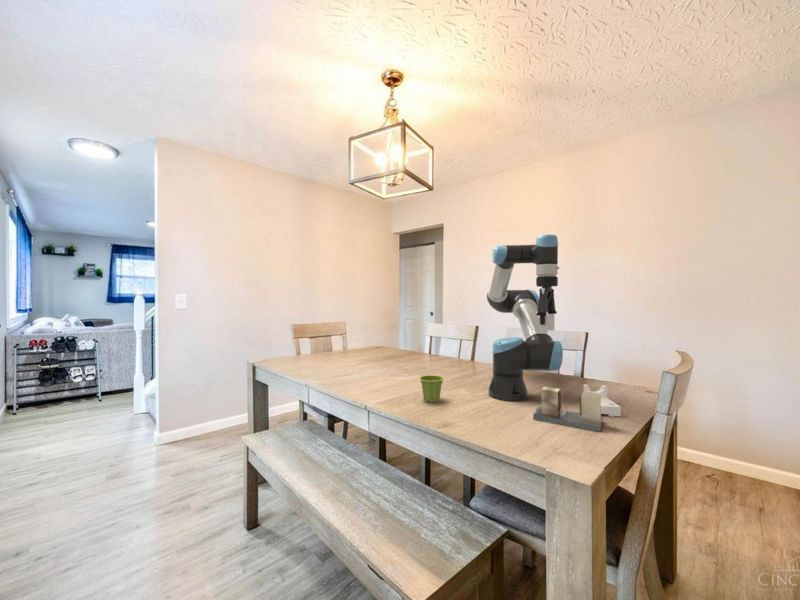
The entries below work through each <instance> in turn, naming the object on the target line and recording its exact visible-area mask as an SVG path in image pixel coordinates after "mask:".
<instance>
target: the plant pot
mask: <svg viewBox="0 0 800 600" xmlns="http://www.w3.org/2000/svg"><path fill="white" fill-rule="evenodd" d="M419 380H420V383H421V388H422V395H423V401H425V400H426V401H425V402H427V401H428V402H430V401H437V402H439V401H440V399H441V389H442V384H443V381H444V380H445V378H444V377H443V376H441V375H434V374H433V375H431V374H429V375H426V374H425V375H421V376H420V377H419ZM438 400H439V401H438Z"/></svg>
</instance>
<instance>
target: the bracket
mask: <svg viewBox="0 0 800 600" xmlns="http://www.w3.org/2000/svg"><path fill="white" fill-rule="evenodd" d="M583 392H587V393H594V394H601V415H606V416H608V417H614V416H621V417H622V414H621V413H622V408H621V406H620V405H619V404H617V403H615V402H614V401H613V400H611V399H610V398H608V386H606V385H605V384H601V385H600V388H599V389H598V390H597V391H596V390H594V391H592V390H591V389H590V385H588V384H585V383H584V384H583Z"/></svg>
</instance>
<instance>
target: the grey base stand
mask: <svg viewBox="0 0 800 600" xmlns="http://www.w3.org/2000/svg"><path fill="white" fill-rule="evenodd" d="M532 420H534V421H540V422H544V421H545V422H546V423H549V422H550V423H551V424H555V425H561V426H566V427H569V428H570V427H571V428H577V429H582V430H586V431H591V432H596V433H597V432H598V433H601V430H602V427H603V422H604V419H603V416H602V414H601V394H594V393H587V392H584V391H582V393H580V396H579V412H574V411H570V410H568V409H567V408H564V409H561V410H560V414H559V415H558V416H554V415H548V414H543V413H542V404H538V406H537V408H536V409H535V412H534V413H533V414H532Z"/></svg>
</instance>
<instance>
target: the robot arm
mask: <svg viewBox="0 0 800 600" xmlns="http://www.w3.org/2000/svg"><path fill="white" fill-rule="evenodd" d="M535 239H536V240H535V244H513V245H512V244H506V245H505V244H503V245H496V246H494V247H493V248H492V263H493V264H495V266H494V270H493V275H492V279H491V283H490V284H491V285H490V287H489V288H488V289H487V293H486V298H487V299H486V300H487V302H488V305H489V306H490V307H491V308H492V309H493V310H494V311H496V312H499V313H503V314H509V313H510V314H513V316H514V317H516V319H517V318H518V321H519V324H520V327H521V331H522V333H523V336H524V339H525V340H524V339H523V337H519V336H515V337H514V336H511V337H503V338H499V339H496V340H495V341H493V343H492V376H491V380H490V383H489V386H488V396H490V397H491V396H492V397H491V398H493V397H494V399H496V398H497V399H496V400H500V399H501V400H503V401H507V402H508V401H510V402H511V401H512V402H517V401H518V402H519V401H523V400H527V399H528V393H529V392H528V389H527V387H526V383H525V380H524V376H523V375H524V371H540V372H541V371H542V372H543V371H545V372H546V371H548V372H551V371H553V372H555V371H558V370H560V368H561V367H562V364H563V358H564V357H563V356H564V355H563V354H564V350H563V345H562V342H561V341H558V340H555V341H554V340H553V338H552V336H551V335H549V334H548V331H554V332H555V315H556V314H557V313H558V311H557V310H556V303H555V293H554V292H555V290H554V288H553V287H557V286H558V283H559V282H558V281H559V279H558V278H559V277H558V276H557V275H558V270H560V266H558V261H559V260H558V259H559V256H558V254H559V251H558V249H559V243H558V242H559V241H558V236H557V235H556V234H542V235H538V236H537V237H536V238H535ZM515 264H533V265H534V264H535V275H536V276H537V277H536V279H535V283H536V285H535V286H536V287H538V288H539V290H538V291H539V294H538V293H537V292H536V290H533V289H508V287H509V284H510V279H511V277H512V273H513V270H514V266H515ZM540 287H541V288H540ZM501 400H500V401H501Z"/></svg>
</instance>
